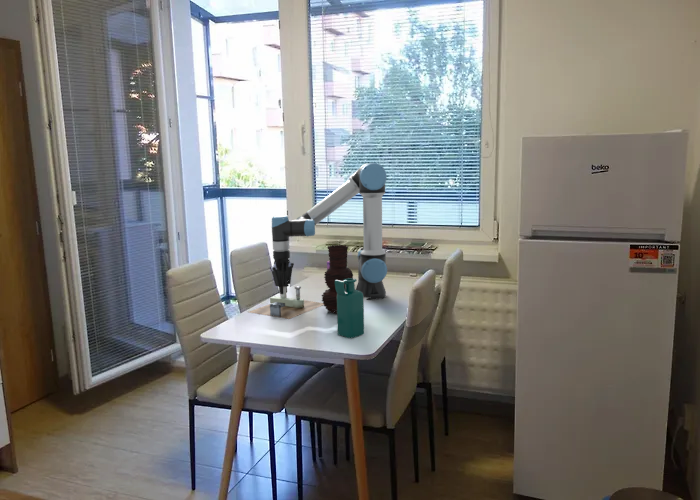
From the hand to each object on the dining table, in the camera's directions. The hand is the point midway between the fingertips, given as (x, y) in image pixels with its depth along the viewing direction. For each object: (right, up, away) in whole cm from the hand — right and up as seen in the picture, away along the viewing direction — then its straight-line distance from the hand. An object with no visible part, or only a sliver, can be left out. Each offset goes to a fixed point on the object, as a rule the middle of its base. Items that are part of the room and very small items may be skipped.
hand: (283, 300), depth 257 cm
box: (+24, +5, +48) cm, 54 cm away
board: (+3, -4, -7) cm, 9 cm away
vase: (+26, -5, -14) cm, 30 cm away
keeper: (0, -5, -19) cm, 19 cm away
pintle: (+7, +1, -7) cm, 10 cm away
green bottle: (+31, -10, -43) cm, 53 cm away
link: (+2, -2, -4) cm, 5 cm away
